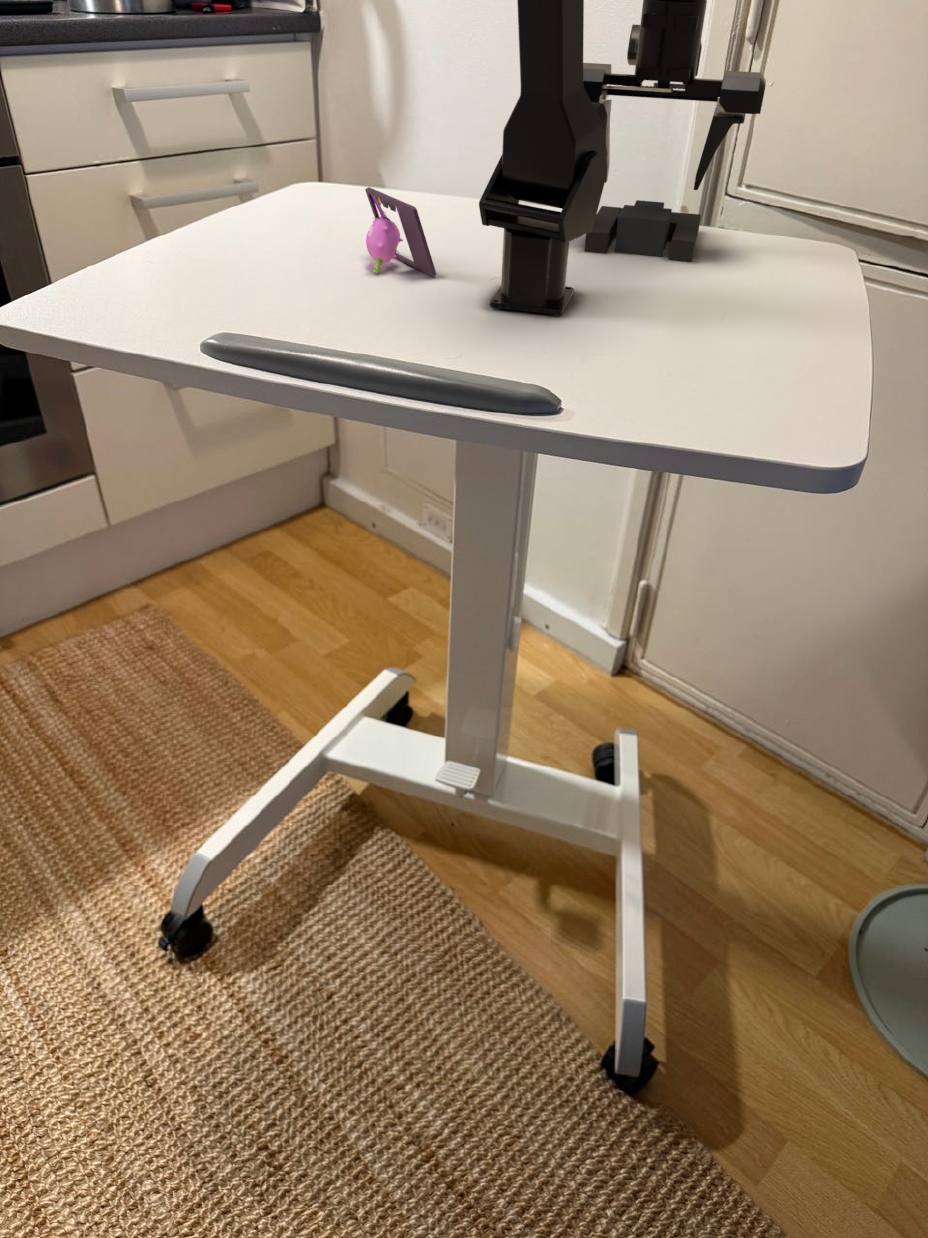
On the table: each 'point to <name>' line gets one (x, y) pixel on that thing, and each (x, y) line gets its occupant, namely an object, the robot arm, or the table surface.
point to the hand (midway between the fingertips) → (649, 185)
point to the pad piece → (643, 228)
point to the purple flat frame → (396, 234)
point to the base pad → (679, 235)
